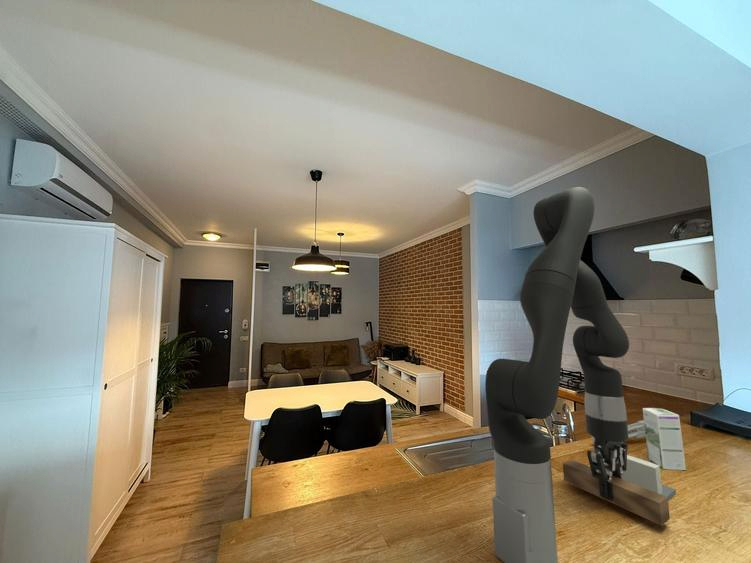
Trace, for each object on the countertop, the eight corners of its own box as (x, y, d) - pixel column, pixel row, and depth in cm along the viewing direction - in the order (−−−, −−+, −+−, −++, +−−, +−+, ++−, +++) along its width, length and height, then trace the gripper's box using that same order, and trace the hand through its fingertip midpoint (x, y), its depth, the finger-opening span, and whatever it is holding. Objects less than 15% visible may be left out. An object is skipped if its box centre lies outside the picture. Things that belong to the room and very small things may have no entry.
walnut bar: (669, 519, 59) (667, 497, 59) (661, 525, 57) (659, 503, 57) (572, 476, 74) (571, 459, 75) (563, 480, 72) (562, 463, 73)
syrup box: (687, 471, 79) (681, 414, 81) (662, 469, 80) (656, 413, 82) (669, 460, 85) (664, 408, 86) (646, 459, 86) (641, 407, 87)
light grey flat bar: (678, 438, 97) (672, 414, 98) (600, 461, 93) (594, 436, 93) (672, 435, 99) (666, 412, 100) (595, 458, 95) (589, 433, 95)
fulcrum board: (656, 511, 63) (653, 476, 64) (592, 483, 73) (590, 453, 74) (676, 493, 69) (672, 462, 70) (614, 470, 79) (612, 443, 80)
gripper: (610, 424, 61) (617, 515, 59) (639, 414, 68) (646, 494, 66) (571, 414, 67) (576, 495, 65) (601, 405, 74) (606, 478, 72)
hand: (611, 494), depth 65 cm, fingers closed on walnut bar, 4 cm apart
